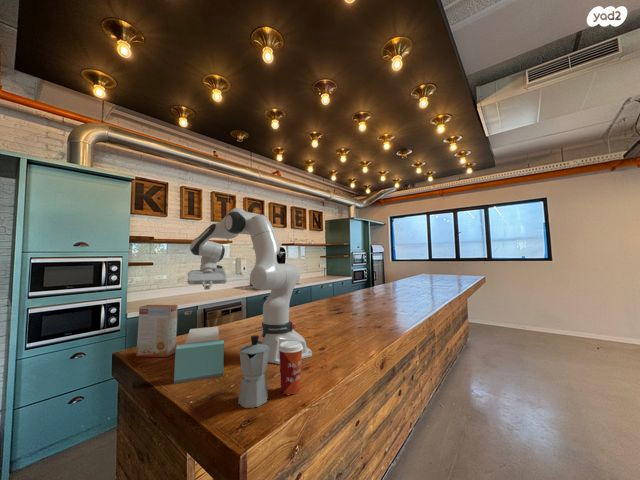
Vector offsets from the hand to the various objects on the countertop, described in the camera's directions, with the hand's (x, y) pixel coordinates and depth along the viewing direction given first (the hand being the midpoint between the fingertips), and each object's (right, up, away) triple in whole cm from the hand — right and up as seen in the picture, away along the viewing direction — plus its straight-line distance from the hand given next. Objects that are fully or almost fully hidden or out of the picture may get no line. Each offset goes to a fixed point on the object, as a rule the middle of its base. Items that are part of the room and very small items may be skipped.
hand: (207, 288), depth 135 cm
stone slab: (+11, -18, -29) cm, 36 cm away
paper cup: (+52, -20, -59) cm, 81 cm away
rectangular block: (+13, -22, -33) cm, 42 cm away
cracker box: (-9, -23, -28) cm, 38 cm away
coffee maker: (+42, -20, -63) cm, 78 cm away
